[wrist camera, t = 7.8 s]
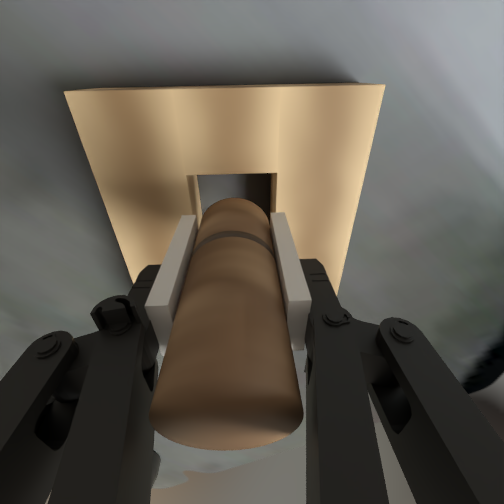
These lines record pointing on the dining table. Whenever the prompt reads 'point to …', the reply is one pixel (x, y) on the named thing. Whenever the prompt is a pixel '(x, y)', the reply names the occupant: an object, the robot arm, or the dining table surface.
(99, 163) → the board
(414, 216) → the dining table surface
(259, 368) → the peg
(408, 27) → the dining table surface
